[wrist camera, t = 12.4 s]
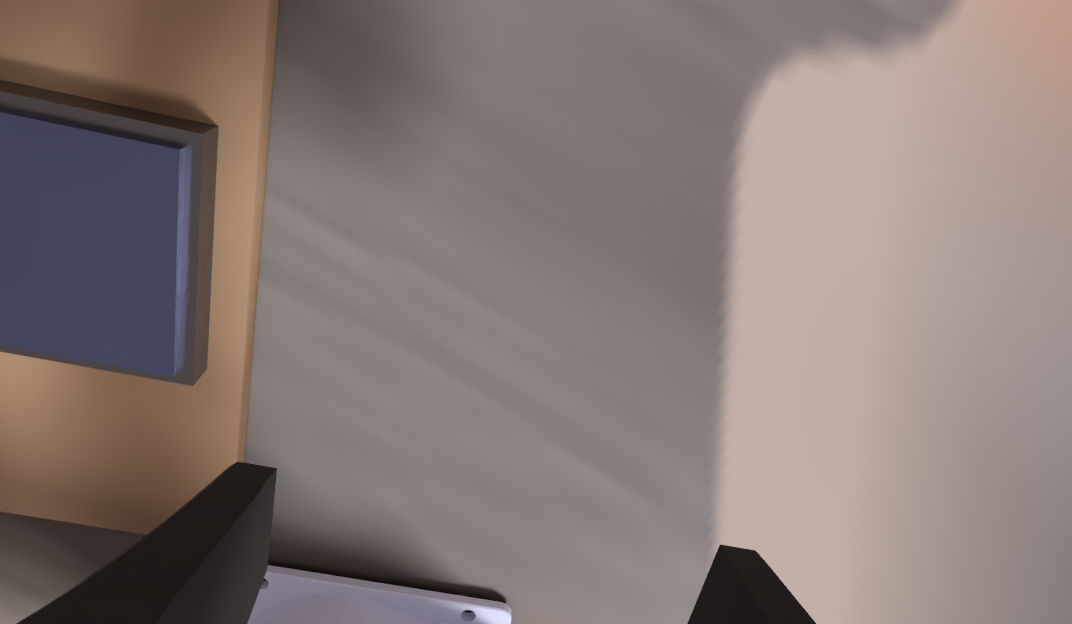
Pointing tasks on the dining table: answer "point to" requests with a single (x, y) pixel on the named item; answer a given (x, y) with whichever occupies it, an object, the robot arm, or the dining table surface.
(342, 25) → the dining table surface
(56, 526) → the dining table surface
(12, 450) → the stamping board
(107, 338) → the ink pad
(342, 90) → the dining table surface
